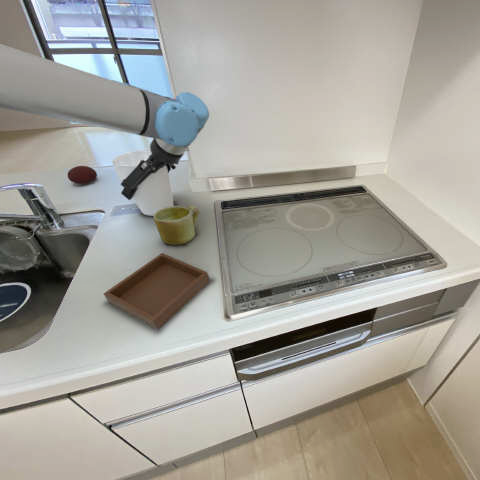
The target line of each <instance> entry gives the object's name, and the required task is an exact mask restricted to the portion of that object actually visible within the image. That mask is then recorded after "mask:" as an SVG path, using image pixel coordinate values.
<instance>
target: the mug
mask: <svg viewBox="0 0 480 480" xmlns="http://www.w3.org/2000/svg"><path fill="white" fill-rule="evenodd" d="M200 214H201V213H200V209H199V208H198V206H197V205H194V204H192V205H191V204H190V205H189V206H187V207H185V206H179V205H174V206H171V207H166V208H163V209H160V210H158V211H157V212H156V213H155V214H154V216H153V220H154V224H155V226H156V228H157V231H158V233H159V236H160V240H161V241H162V243H164V244H166V245H170V246H180V245H186V244H187V243H189V242H190V241H191V240H193V239H194V238H195V237H196V236H195V235H196V232H195V228H196V223H197V221H198V219H199V215H200Z"/></svg>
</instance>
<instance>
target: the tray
mask: <svg viewBox="0 0 480 480" xmlns="http://www.w3.org/2000/svg"><path fill="white" fill-rule="evenodd" d="M210 282H211V279H210V276H209V273H208V271H205V270H203V269H201V268H198V267H196V266H193V265H192V264H189V263H187V262H184V261H182V260H180V259H177V258H175V257H173V256H170V255H168V254H166V253H163V252H161V253H160V254H158V255H157V256H155V257H154V258H153V259H151V260H150V261H148V262H147V263H145V264H144V265H142V266H140V268H138V269H137V270H135V271H134V272H132V273H131V274H129V275H128V276H127V277H125V278H124V279H123V280H121V281H119V282H118V283H117V284H115V285H113V286H112V287H111V288H110V289H107V290H106V291H105V292H104V293H103V296H104V297H105V299H106V300H107V302H108V303H109V304H111V305H113V306H114V307H116V308H118V309H120V310H121V311H123V312H125V313H127V314H129V315H130V316H132V317H135V318H136V319H138V320H139V321H142V322H143V323H145V324H147V325H149V326H151V327H153V328H155V329H156V330H160V329H161V328H162V327H163V326H164V325H165V324H166V323H167V322H168V321H169V320H170V319H171V318H173V316H174V315H176V314H177V313H178V312H179V311H180V310H181V309H182V308H183V307H185V305H187V303H189V302H190V301H191V300H192V299H193V298H194V297H195V296H196V295H197V294H198V293H199V292H201V290H203V288H205V287H206V286H208V284H209V283H210Z"/></svg>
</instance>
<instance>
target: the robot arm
mask: <svg viewBox="0 0 480 480" xmlns="http://www.w3.org/2000/svg"><path fill="white" fill-rule="evenodd" d="M0 109H6V110H11V111H16V112H20V113H26V114H31V115H36V116H40V117H46V118H51V119H56V120H61V121H67V122H72V123H77V124H82V125H87V126H93V127H98V128H102V129H106V130H107V129H108V130H113V131H117V132H122V133H128V134H131V135H132V134H133V135H136V136H141V137H146V138H151V139H152V141H151V143H150V144H149V149H150V150H151V153H152V154H151V155H150V156H149V158H148V159H147V160H146V161H145V160H141V161H140V163H139V164H138V166H137V167H136V168H135V169H134V170H133V171H132V172H131V173H130V174H129V176H128V177H127V178H126V179H124V180H123V182H120V186H121V187H123V188H122V191H121V193H120V194H121V195H122V196H123V197H124V198H126V199H127V200H128V201H130V200H133V198H132V197H133V195H134V194H135V192H136V191H137V189H138V186H139V185H140V184H141V183H142V182H143V181H144V180H145V179H146V178H147V177H148V176H150V175H151V174H152V173H156V172H157V171H158V170H159V169H160V168H163V167H164V166H165V165H166V166H167V169H168V174H169V173H170V171H171V170H175V169H176V168H177V167H176V165H178V164H179V163H180V161H181V159H182V157H183V156H184V154H185V153H186V152H189V151H190V148H189V147H190V146H191V145H192V143H193V142H194V141H195V140H196V139H197V137H198V135H199V134H200V133H201V131H202V130H203V129H204V128H205V125H207V124H206V123H207V122H208V120H209V118H210V112H209V109H208V106H207V104H206V103H205V102H204V101H203V100H202V99H201V98H200V97H198V96H197V95H196V94H195V93H192V92H188V91H182V92H180V93H179V94H178V95H176V96H175V98H172V97H169V96H165V95H161V94H158V93H155V92H153V91H149V90H147V89H144V88H141V87H139V86H135V85H132V84H130V83H128V82H121V81H119V80H115V79H109V78H106V77H103V76H100V75H97V74H94V73H90V72H88V71H84V70H81V69H78V68H75V67H72V66H69V65H66V64H63V63H61V62H60V63H59V62H57V61H54V60H51V59H48V58H45V57H41V56H38V55H36V54H33V53H29V52H26V51H23V50H21V49H18V48H15V47H11V46H8V45H5V44H2V43H0ZM151 166H152V167H154V168H156V169H154V170H153V169H152V167H151Z"/></svg>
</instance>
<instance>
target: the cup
mask: <svg viewBox="0 0 480 480" xmlns="http://www.w3.org/2000/svg"><path fill="white" fill-rule="evenodd" d="M151 154H152V153H151V150H149V149H144V150H143V149H141V150H132V151H127V152H124V153H121V154H119V155H117V156H115V157H113V159H112V161H111V162H112V165H113V166H114V169H115V172H116V176H117V177H118V179H119V180H120V183H122V182H123V180H124V179H126V178H127V177H128V176H129V174H130V173H131V172H132V171H133V170H134V169H135V168H136V167H137V166H138V164H139V163H140V161H141V160H145V161H146V160H147V159H148V158H149V156H150V155H151ZM151 167H152V166H151ZM152 169H153V170H154V169H156V168H154V167H152ZM132 200H133V201H134V203H135V204H136V206H137V207H138V209H139V210H140V212H141V214H143V215H145V216H152V217H154V214H155V213H156V212H157V211H158V210H160V209H163V208H166V207H171V206H175V204H174V198H173V192H172V187H171V182H170V175H169V173H168V169H167V166H166V165H165V166H164V167H163V168H160V169H159V170H158V171H157V172H156V173H152V174H151V175H150V176H148V177H147V178H146V179H145V180H144V181H143V182H142V183H141V184H140V185H139V186H138V189H137V191H136V192H135V194H134V195H133V197H132Z"/></svg>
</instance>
